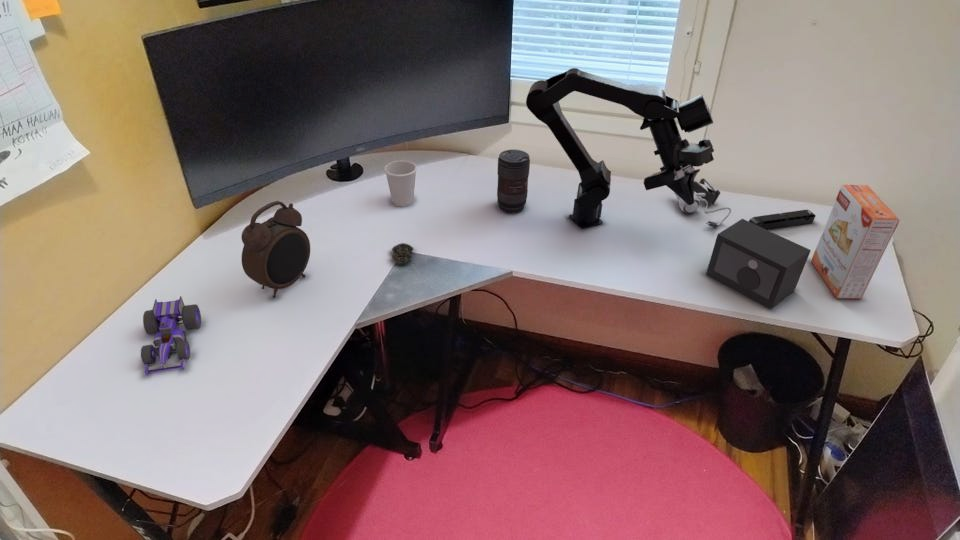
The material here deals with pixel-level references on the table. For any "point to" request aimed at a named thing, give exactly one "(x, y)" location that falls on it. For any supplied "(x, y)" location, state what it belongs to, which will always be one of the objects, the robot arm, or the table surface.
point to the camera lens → (512, 180)
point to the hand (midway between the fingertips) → (691, 204)
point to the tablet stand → (784, 219)
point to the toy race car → (168, 333)
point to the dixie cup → (401, 181)
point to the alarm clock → (275, 248)
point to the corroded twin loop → (402, 253)
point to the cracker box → (853, 241)
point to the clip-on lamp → (708, 196)
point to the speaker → (757, 262)
